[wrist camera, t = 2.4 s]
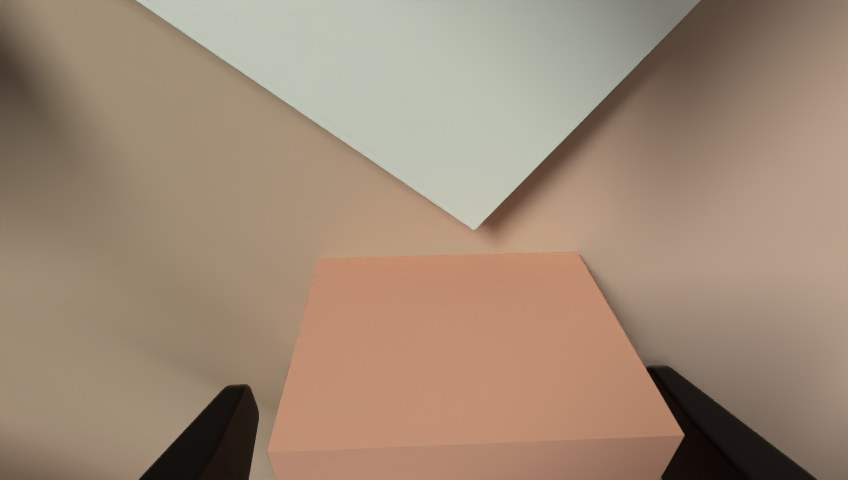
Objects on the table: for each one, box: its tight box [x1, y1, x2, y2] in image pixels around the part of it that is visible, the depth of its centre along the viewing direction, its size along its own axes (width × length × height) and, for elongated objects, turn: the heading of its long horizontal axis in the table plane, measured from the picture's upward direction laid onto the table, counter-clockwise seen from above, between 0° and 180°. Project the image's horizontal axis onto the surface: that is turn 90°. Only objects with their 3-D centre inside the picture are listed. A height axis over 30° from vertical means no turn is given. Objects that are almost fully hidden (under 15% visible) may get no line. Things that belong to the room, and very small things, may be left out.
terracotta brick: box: [267, 252, 685, 480], centre depth 8 cm, size 5×5×4 cm
